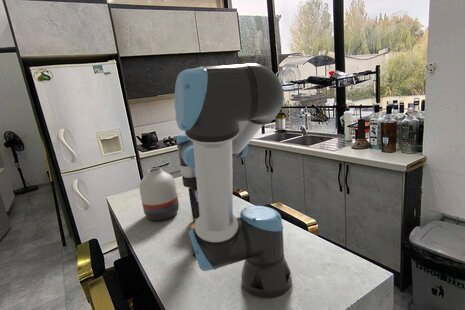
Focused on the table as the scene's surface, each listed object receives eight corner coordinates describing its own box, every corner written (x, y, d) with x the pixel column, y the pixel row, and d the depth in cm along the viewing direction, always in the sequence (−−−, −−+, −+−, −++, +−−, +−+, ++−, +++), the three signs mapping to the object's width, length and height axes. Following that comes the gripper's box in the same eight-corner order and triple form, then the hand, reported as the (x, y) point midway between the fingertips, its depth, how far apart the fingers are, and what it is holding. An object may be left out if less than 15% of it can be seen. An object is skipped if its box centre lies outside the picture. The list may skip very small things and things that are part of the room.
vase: (154, 227, 127) (145, 178, 121) (139, 216, 139) (130, 171, 133) (186, 213, 137) (179, 167, 131) (169, 204, 150) (162, 162, 144)
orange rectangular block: (207, 231, 112) (206, 224, 111) (193, 234, 111) (192, 227, 110) (205, 227, 115) (204, 221, 114) (191, 231, 113) (190, 224, 113)
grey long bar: (206, 253, 102) (205, 246, 102) (193, 256, 102) (192, 248, 101) (201, 227, 122) (200, 220, 121) (190, 229, 121) (189, 222, 120)
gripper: (205, 177, 100) (213, 236, 105) (198, 168, 112) (205, 221, 118) (184, 181, 98) (193, 241, 103) (179, 171, 110) (188, 226, 115)
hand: (200, 231), depth 110 cm, fingers closed
